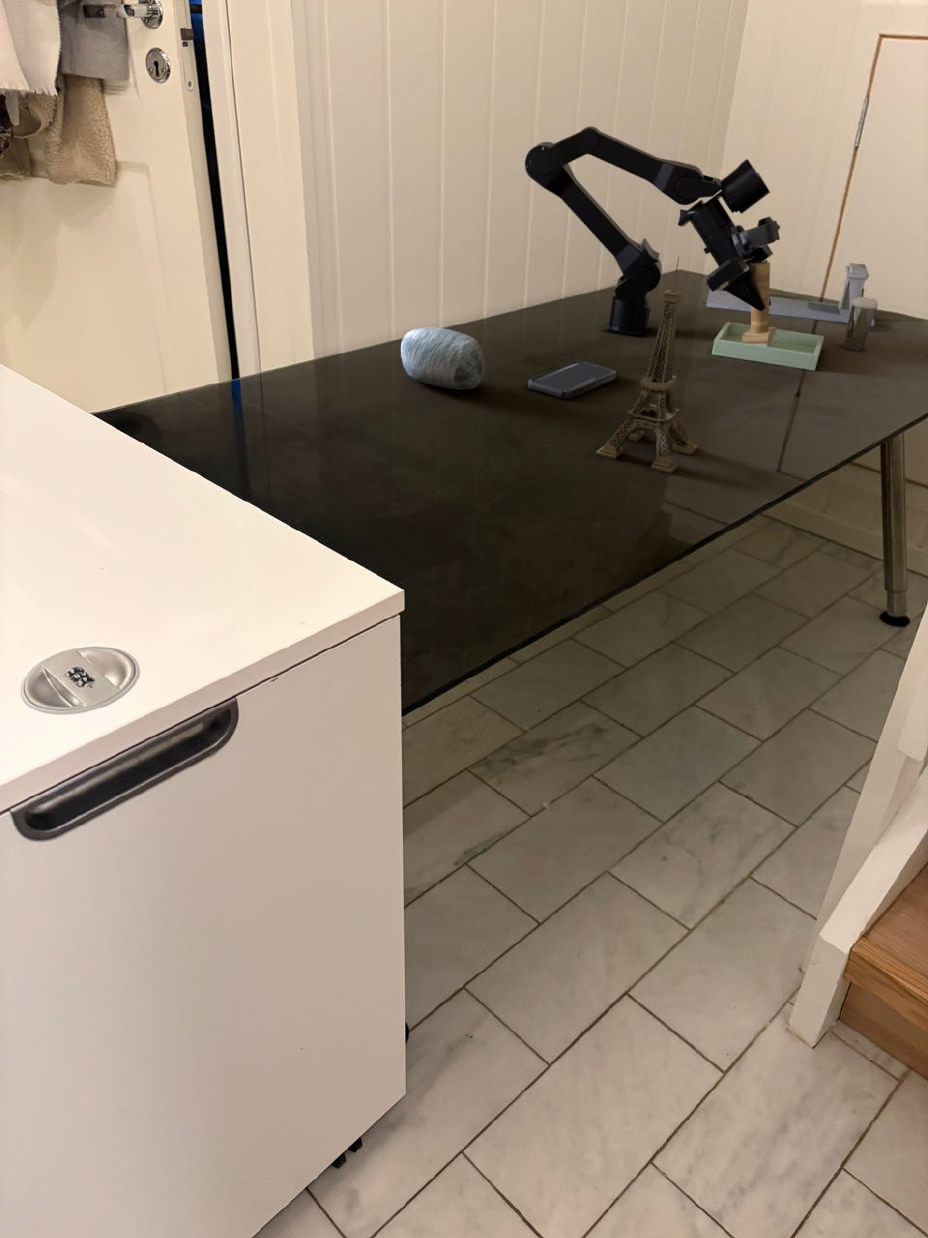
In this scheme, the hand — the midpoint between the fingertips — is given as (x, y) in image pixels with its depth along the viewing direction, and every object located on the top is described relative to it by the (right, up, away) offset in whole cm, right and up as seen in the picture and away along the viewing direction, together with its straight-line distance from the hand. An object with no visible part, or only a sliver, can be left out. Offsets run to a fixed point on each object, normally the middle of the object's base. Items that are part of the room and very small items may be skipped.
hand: (766, 307), depth 166 cm
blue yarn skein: (-57, -18, -20) cm, 63 cm away
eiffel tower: (-28, -32, -39) cm, 58 cm away
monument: (+15, +10, +32) cm, 36 cm away
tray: (+1, -7, +4) cm, 8 cm away
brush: (0, -6, +4) cm, 7 cm away
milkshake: (+19, -4, +9) cm, 21 cm away
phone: (-36, -17, -16) cm, 43 cm away
